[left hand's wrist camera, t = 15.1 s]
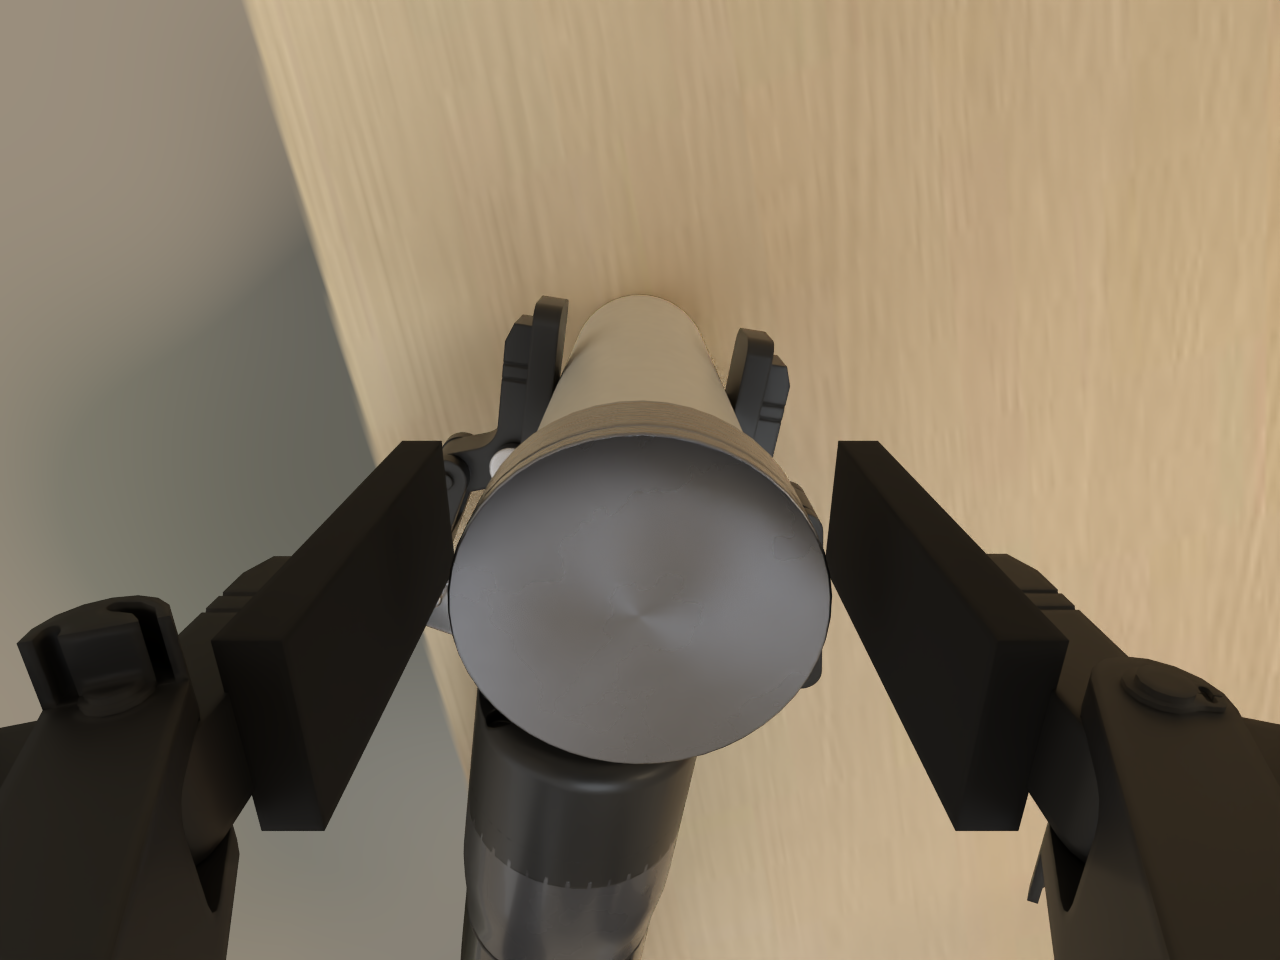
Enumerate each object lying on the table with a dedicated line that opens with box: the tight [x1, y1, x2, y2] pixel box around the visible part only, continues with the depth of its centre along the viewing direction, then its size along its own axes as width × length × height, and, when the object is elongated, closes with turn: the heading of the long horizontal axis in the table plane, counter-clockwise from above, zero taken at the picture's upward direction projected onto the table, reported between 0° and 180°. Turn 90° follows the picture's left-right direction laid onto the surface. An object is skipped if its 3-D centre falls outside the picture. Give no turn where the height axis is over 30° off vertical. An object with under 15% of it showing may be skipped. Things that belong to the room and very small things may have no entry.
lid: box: [447, 400, 832, 764], centre depth 11 cm, size 6×6×2 cm
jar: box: [537, 295, 743, 432], centre depth 18 cm, size 5×5×16 cm
